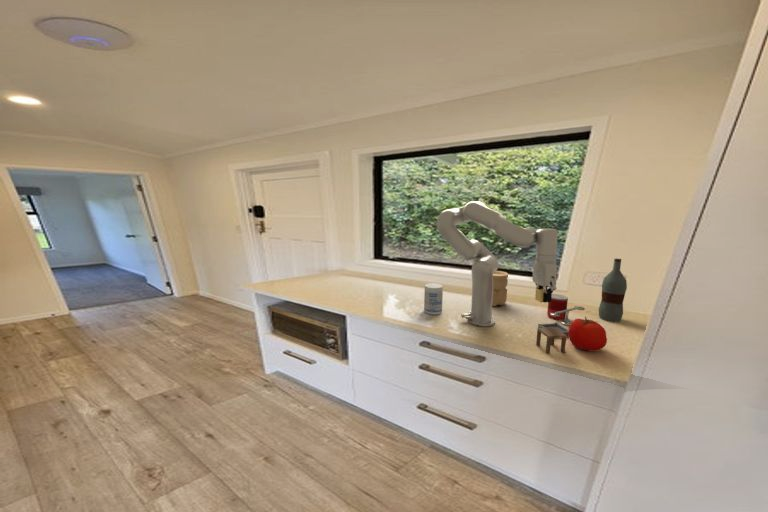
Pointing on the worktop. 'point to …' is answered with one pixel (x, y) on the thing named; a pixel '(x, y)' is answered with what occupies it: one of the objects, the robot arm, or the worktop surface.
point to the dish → (554, 327)
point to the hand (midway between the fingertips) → (543, 299)
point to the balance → (566, 314)
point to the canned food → (557, 306)
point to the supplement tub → (433, 298)
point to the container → (499, 288)
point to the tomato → (587, 334)
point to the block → (539, 295)
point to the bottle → (613, 294)
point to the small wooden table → (551, 338)
